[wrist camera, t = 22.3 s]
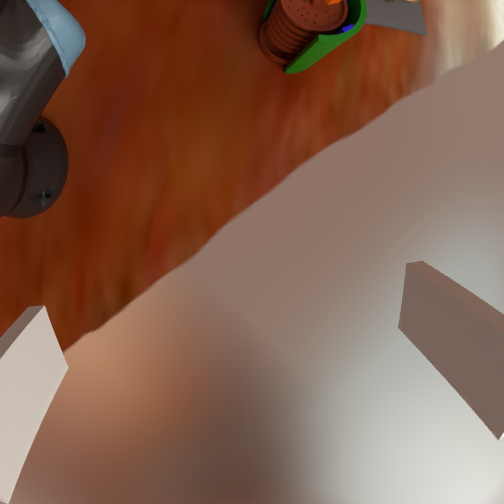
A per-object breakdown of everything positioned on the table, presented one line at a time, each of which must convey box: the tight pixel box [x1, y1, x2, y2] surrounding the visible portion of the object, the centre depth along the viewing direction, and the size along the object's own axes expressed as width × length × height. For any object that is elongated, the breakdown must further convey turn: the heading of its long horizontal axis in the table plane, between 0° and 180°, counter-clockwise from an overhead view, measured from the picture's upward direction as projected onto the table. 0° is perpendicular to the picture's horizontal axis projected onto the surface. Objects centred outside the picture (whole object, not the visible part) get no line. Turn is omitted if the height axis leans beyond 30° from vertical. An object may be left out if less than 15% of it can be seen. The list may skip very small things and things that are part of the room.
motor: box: [258, 0, 367, 73], centre depth 28 cm, size 10×9×20 cm
